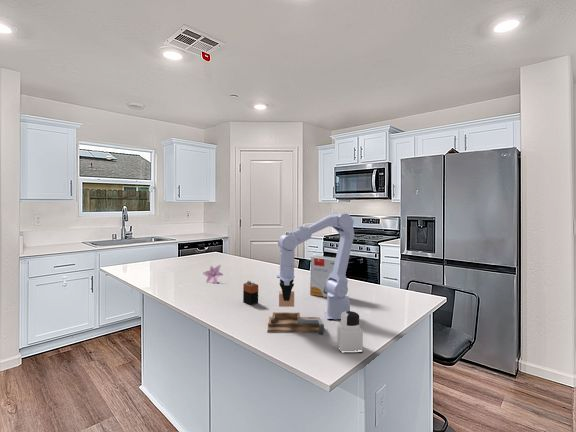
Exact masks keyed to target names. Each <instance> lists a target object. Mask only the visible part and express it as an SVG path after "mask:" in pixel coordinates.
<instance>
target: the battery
mask: <svg viewBox="0 0 576 432" xmlns="http://www.w3.org/2000/svg"><path fill="white" fill-rule="evenodd" d="M242 286H243V288H242V289H243V290H242V291H243V294H242V296H243V298H242V302H243V303H246V304H248V305H251V306H254V305H257V304H259V284H257V283H255V282H252V281H251V280H248V281H247V280H246V282H244V283H243V285H242Z"/></svg>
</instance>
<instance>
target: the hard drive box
mask: <svg viewBox="0 0 576 432" xmlns="http://www.w3.org/2000/svg"><path fill="white" fill-rule="evenodd" d="M335 259H336V257H333V256H332V257H331V256H323V255H322V256H321V255H314V256H311V258H310V282H309V283H310V284H309V285H310V286H309V287H310V288H309V295H310V296H315V295H316V297H322V296H323V297H324V298H327V291H326V289H325V282H326V281H327V279H328V277H329V275H330V274H331V273H332V272H333V268H334V264H335Z"/></svg>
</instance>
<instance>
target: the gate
mask: <svg viewBox="0 0 576 432" xmlns="http://www.w3.org/2000/svg"><path fill="white" fill-rule="evenodd" d="M298 323H311V324H319V332H318V335H324V330H325V326H324V325H325V324H324V323H323V321H322V318H320V319H298Z"/></svg>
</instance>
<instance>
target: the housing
mask: <svg viewBox="0 0 576 432" xmlns="http://www.w3.org/2000/svg"><path fill="white" fill-rule="evenodd" d="M268 317H269V318H268V323H267V333H319V324H311V323H298V319H321V317H319V316H316V317H315V316H301V313H300V312H289V311H288V312H286V311H285V312H283V311H282V312H279V311H278V312H277V311H276V312H275V311H273V312H272V316H268Z"/></svg>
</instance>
